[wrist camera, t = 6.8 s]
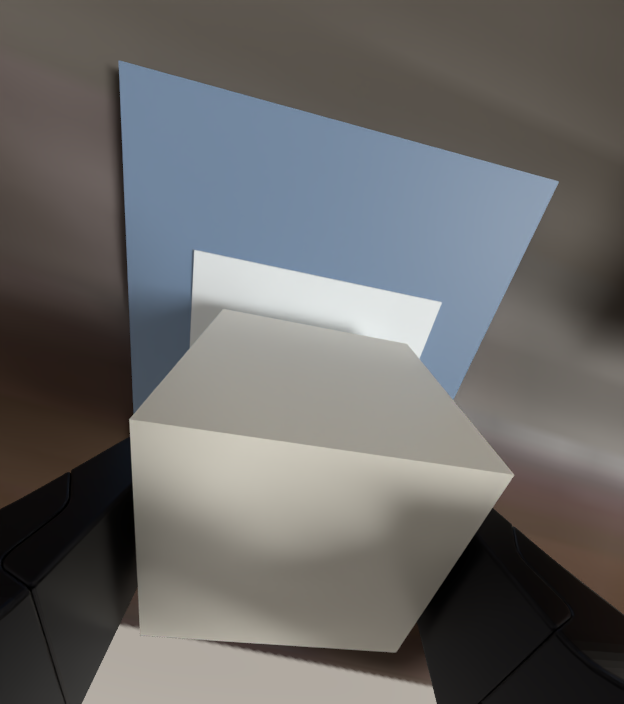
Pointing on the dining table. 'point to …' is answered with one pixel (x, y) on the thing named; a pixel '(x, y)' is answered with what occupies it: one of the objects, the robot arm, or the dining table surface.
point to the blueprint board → (308, 227)
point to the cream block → (301, 488)
